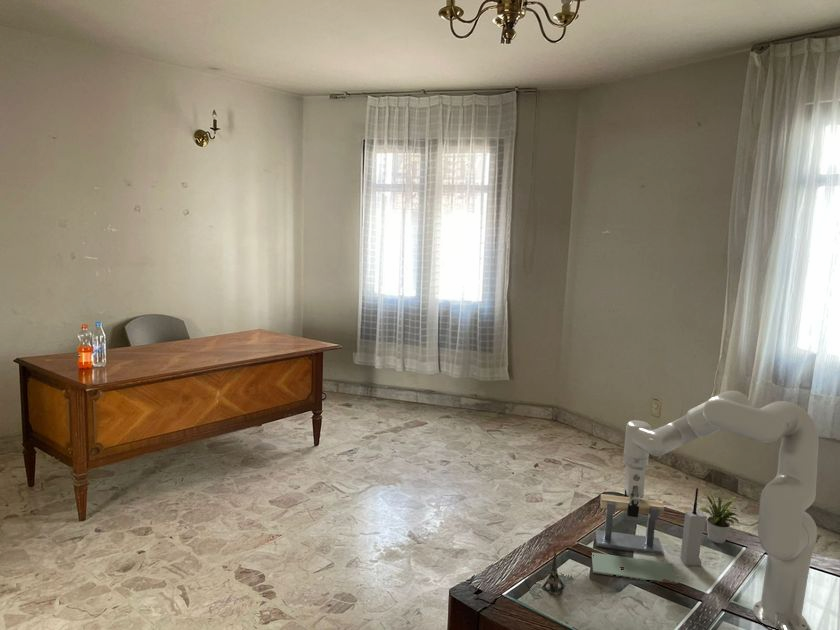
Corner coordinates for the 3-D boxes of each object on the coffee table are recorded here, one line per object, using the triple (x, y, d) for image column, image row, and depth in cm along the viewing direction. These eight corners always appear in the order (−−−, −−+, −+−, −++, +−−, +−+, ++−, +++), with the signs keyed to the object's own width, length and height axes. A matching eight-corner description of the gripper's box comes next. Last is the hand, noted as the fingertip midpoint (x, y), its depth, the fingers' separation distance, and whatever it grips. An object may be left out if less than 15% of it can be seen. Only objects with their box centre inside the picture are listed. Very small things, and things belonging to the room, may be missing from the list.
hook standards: (662, 555, 190) (666, 511, 187) (597, 546, 194) (600, 503, 191) (658, 541, 198) (662, 499, 195) (595, 533, 202) (598, 492, 199)
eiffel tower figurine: (569, 574, 180) (572, 533, 178) (584, 595, 171) (588, 553, 168) (522, 578, 178) (524, 537, 175) (534, 601, 168) (537, 558, 165)
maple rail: (663, 515, 190) (664, 507, 189) (601, 508, 194) (601, 499, 193) (661, 509, 194) (662, 501, 193) (600, 502, 198) (600, 493, 197)
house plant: (692, 546, 195) (697, 500, 192) (686, 524, 208) (691, 481, 205) (740, 554, 191) (746, 507, 188) (732, 532, 204) (737, 487, 201)
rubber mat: (678, 585, 175) (678, 583, 175) (593, 572, 180) (593, 571, 180) (671, 565, 185) (672, 563, 185) (591, 554, 190) (591, 552, 190)
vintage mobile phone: (701, 566, 185) (710, 491, 180) (685, 565, 185) (693, 491, 180) (695, 559, 188) (704, 485, 183) (680, 558, 188) (688, 485, 183)
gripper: (652, 472, 181) (646, 524, 185) (644, 449, 198) (639, 497, 201) (626, 469, 183) (621, 520, 186) (620, 447, 199) (616, 494, 203)
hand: (630, 508), depth 194 cm, fingers open, 9 cm apart
